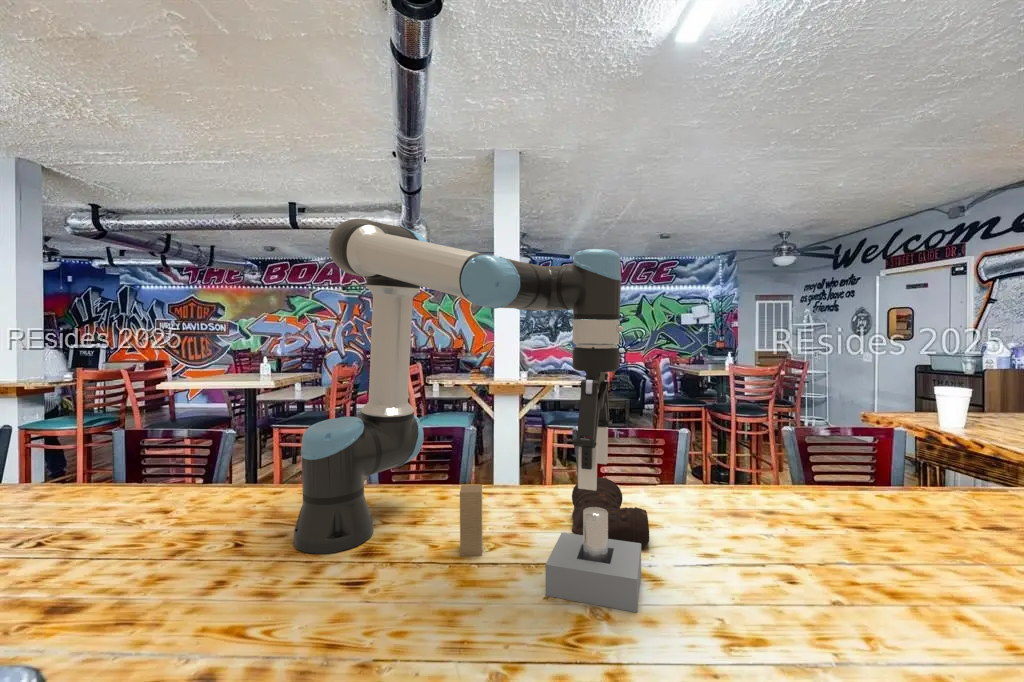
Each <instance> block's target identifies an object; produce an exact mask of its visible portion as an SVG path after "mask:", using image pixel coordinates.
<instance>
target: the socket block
mask: <svg viewBox="0 0 1024 682" xmlns="http://www.w3.org/2000/svg"><path fill="white" fill-rule="evenodd" d="M641 578H642V545H641V543H635V542H628V541H620V540H613V539H608V564H607V563H601V562H594V561H588V560H583V535H577V534H574V533H570V532H561V533H560V535H559V537H558V538H557V541H556V543H555V544H554V547H553V549H552V550H551V553H550V555H549V557H548V559H547V560H546V562H545V596H547V597H551V598H556V599H562V600H567V601H572V602H573V601H574V602H577V603H578V602H579V603H584V604H589V605H594V606H595V605H596V606H599V607H606V608H610V609H615V610H622V611H628V612H632V613H633V612H634V613H638V606H639V599H640V598H639V597H640V587H641Z"/></svg>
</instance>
